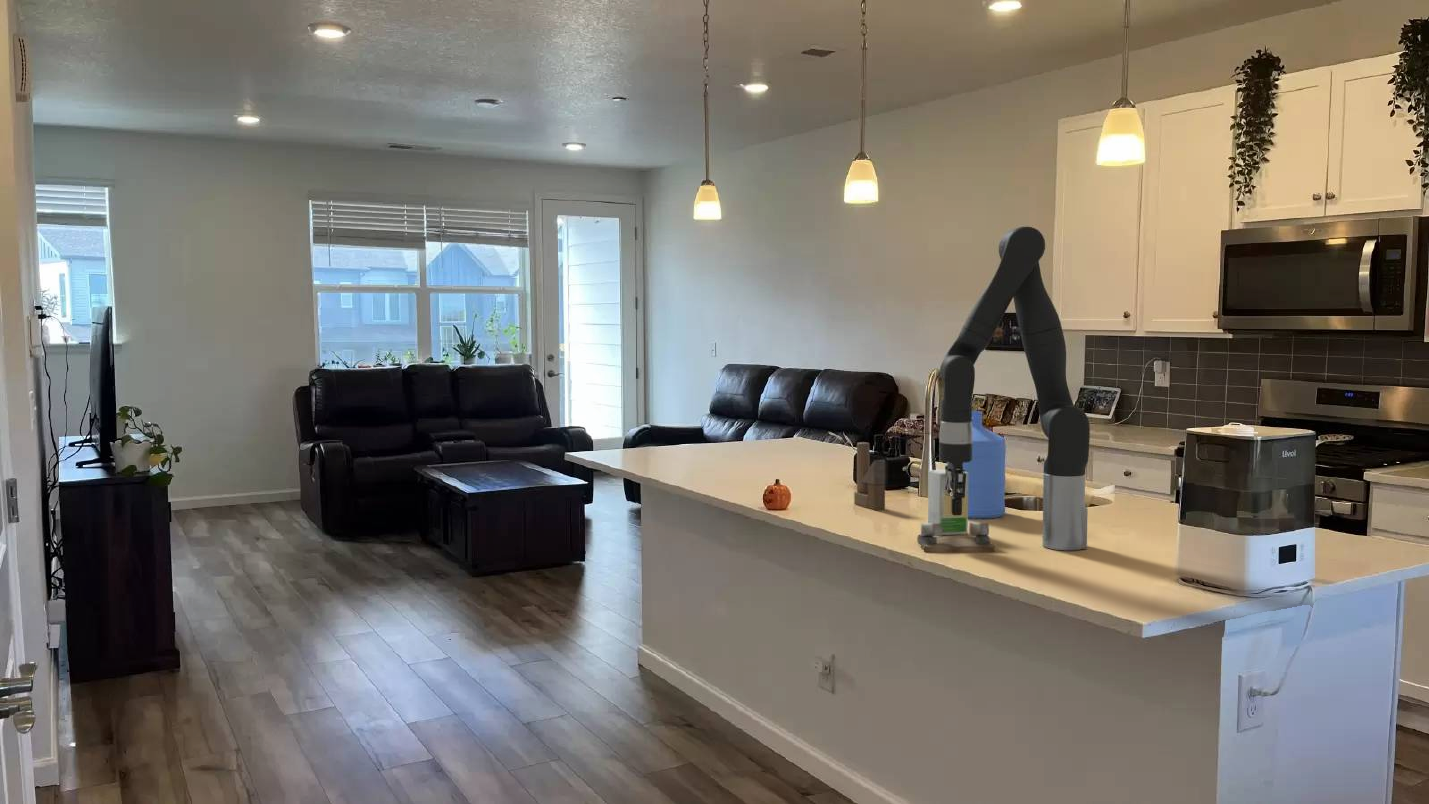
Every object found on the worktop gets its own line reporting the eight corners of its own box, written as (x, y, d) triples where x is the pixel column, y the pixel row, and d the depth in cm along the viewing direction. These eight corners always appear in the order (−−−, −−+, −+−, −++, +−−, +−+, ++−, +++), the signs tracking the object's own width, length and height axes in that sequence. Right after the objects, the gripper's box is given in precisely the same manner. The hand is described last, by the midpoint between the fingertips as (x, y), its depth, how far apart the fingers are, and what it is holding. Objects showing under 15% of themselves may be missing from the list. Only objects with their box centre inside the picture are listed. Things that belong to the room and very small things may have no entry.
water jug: (1008, 520, 273) (1009, 414, 270) (947, 519, 275) (948, 414, 273) (1001, 509, 288) (1002, 409, 286) (944, 508, 291) (944, 409, 288)
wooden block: (874, 510, 288) (874, 446, 287) (853, 504, 298) (853, 442, 296) (885, 509, 290) (885, 445, 288) (864, 503, 299) (864, 441, 298)
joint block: (962, 513, 244) (963, 490, 244) (966, 517, 239) (967, 494, 239) (941, 513, 244) (941, 490, 244) (945, 517, 239) (945, 494, 239)
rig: (984, 541, 247) (984, 518, 247) (994, 552, 236) (994, 527, 236) (915, 541, 248) (915, 518, 248) (922, 552, 237) (922, 527, 237)
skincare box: (938, 536, 254) (939, 473, 253) (926, 531, 260) (926, 469, 259) (969, 534, 256) (969, 471, 255) (956, 528, 262) (956, 468, 261)
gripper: (978, 444, 233) (976, 519, 234) (966, 437, 247) (964, 507, 249) (944, 444, 233) (943, 518, 235) (934, 437, 248) (933, 507, 249)
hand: (954, 512), depth 242 cm, fingers closed on joint block, 5 cm apart
